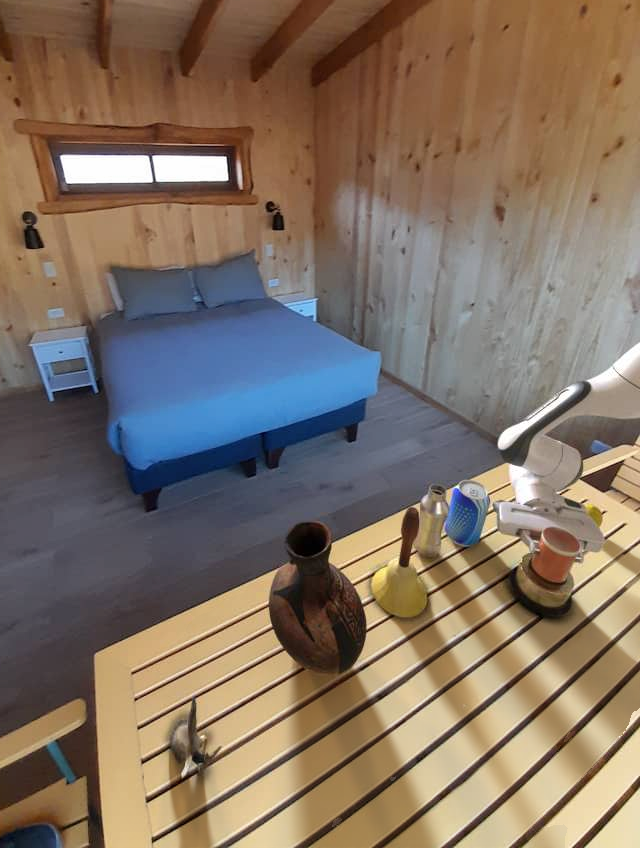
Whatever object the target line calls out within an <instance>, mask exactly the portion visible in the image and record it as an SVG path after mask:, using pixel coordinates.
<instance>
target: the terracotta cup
mask: <svg viewBox="0 0 640 848" xmlns="http://www.w3.org/2000/svg"><path fill="white" fill-rule="evenodd" d="M537 543H538V544H539V547H540V552H539V554H534V556H533V558H532V566H533V568H534V570H535V571H536V572H537V573H538V574H539V575H540V576H541V577H543V578H544V579H546V580H549V581H551V582H556V583H560V582H564V581H565V580H566V579H567V577H568V575H569V573H571V571H572V568H573V566H574V563H576V562H575V560H576V557H577V555H578V553H579V552H580V549H581V545H580V542H579V541H578V539H577V538H576V537H575V536H574V535H573V534H571V533H570V532H568V531H566V530H564V529H562V528H559V527H546V528H545V529H544V530H543V531H542V534H541V537H540V540H539V541H538V542H537Z"/></svg>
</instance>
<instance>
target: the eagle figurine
mask: <svg viewBox="0 0 640 848" xmlns="http://www.w3.org/2000/svg"><path fill="white" fill-rule="evenodd" d="M197 706H198V705H197V702H196V696H195V695H193V696H192V698H191V705H190V709H189V712H188V713H189V714H188V718H186V717H185V718H180V720H178V721H177V723H176V725H174V726H173V727H174V728H173V730H172V731H171V735H170V738H169V747H170V749H171V751H172V755H173V758H174V760H175V761H176V763H178V764H182V763H183V762H185V764H184V767H183V770H182V772H181V775H180V776H181V779H184V777H186V776H187V774H188V773H189V770H190V768H191V766H192V762H193V763H194V764H195V765H196V766H197V773H196V776H197V777H200V774H201V775H205V770H206V768H207V767H208V766H209V764H210V763H211V762H212V760H213V759H214V758H215V757H216V756H217V755H218V753H219V752H220V751H221V749H222V745H219V746H218V747H217V748H215V749H214V750H213V752H212V753H209V752H206V753H205V752H203V751H202V747H203V745H204V743H205V741H206V740H208V737H207V736H205V734H203V735H201V736H199V732H198V729H197V725H198V724H197V723H198V721H197Z"/></svg>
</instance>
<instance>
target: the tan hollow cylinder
mask: <svg viewBox="0 0 640 848" xmlns="http://www.w3.org/2000/svg"><path fill="white" fill-rule="evenodd" d="M533 556H534V554H533V553H530V552H528V553H525V554H524V555H523V556H522V557H521V559H520V561H519V563H518V565H516V566H515V567H513V568H512V569H511V570H510V572H509V576H508V579H507V584H508V589H509V591H510V593H511V595H512V596H513V598H514V599H515V600H516V601H517V603H518V604H519V605H520V606H521V607H522V608H524V609H525V610H527V611H528V612H530V613H531V614H533V615H535V616H537V617H540V618H543V619H547V620H561V619H563V618H565V617H566V616H567V615H568V614H569V612H570V610H571V608H572V605H573V599H572V595H571V594H572V592H573V590H574V588H575V580H574V577H573V575H572V573H571V572H570V573H569V575H568V577H567V579H566V580H565V581H564V582H560V583H556V582H551V581H549V580H546V579H544V578H543V577H541V576H540V575H539V574H538V573H537V572H536V571H535V570H534V568H533V566H532V558H533Z"/></svg>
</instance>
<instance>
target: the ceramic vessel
mask: <svg viewBox="0 0 640 848" xmlns="http://www.w3.org/2000/svg"><path fill="white" fill-rule="evenodd" d="M332 546H333V539H332V533H331V531H330V529H329V528H328V526H327V525H325V523H322V522H321V521H317V520H307V521H300V522H297V523H296V524H294V525H293V526H292V527H290V528H289V530H288V532H287V533H286V536H285V538H284V549H285V551H286V553H287V556H289V561H286V562H285V563H283V564H282V565H281V566H280V567H279V568H278V570H277V571H276V573H275V574H274V577H273V579H272V582H271V585H270V589H269V595H268V613H269V620H270V624H271V626H272V630H273V632H274V634H275V636H276V639H277V641H278V642H279V643H280V645H281V646H282V647H281V648H283V649H284V651H285V652H286V654H287V655H289V656H290V657H291V659H292V660H293V661H294V662H296V663H297V664H298V665H299V666H300V667H301V668H303V669H305V670H306V671H309V672H311V673H314V674H317V675H321V676H336V675H337V676H338V675H341V674H343V673H345V672H347V671H349V670H350V669H351V668H352V667H353V666H354V665H355V664H356V663H357V661H358V659H359V658H360V656H361V654H362V652H363V650H364V646H365V644H366V638H367V629H368V627H367V616H366V611H365V608H364V605H363V602H362V598H361V596H360V595H359V593H358V591H357V589H356V587H355V586H354V585H353V583H352V582H351V580H350V578H348V577H347V575H345V573H344V572H343V571H341V569H339V568H338V567H337V566H335V565H334V564H332V563H331V562H330V561H329V560H330V554H331V553H332V552H331V551H332V549H333V547H332Z"/></svg>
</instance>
